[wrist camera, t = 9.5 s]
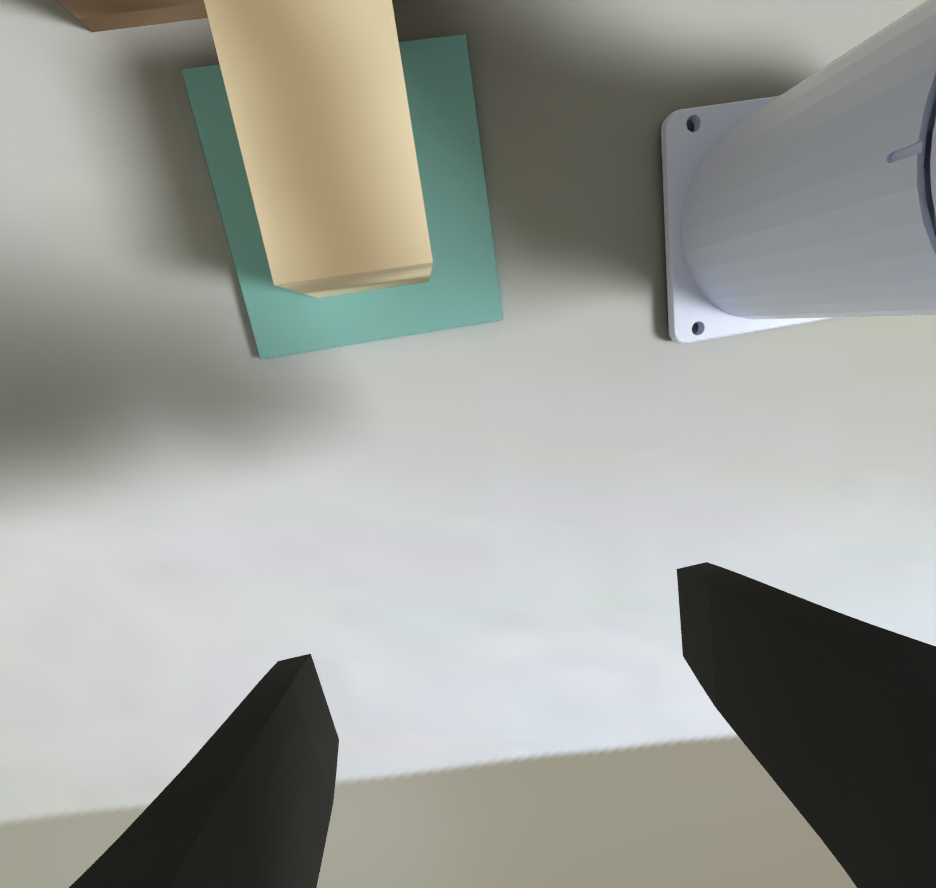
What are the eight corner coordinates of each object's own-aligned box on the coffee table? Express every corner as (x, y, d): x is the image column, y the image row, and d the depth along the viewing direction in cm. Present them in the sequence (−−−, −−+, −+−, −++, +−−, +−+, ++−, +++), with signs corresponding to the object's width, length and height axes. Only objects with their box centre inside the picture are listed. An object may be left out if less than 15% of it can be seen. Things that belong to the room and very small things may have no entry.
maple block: (397, 89, 15) (387, -28, 10) (429, 281, 16) (432, 262, 11) (274, 103, 14) (201, -8, 10) (317, 298, 16) (274, 284, 11)
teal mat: (464, 41, 15) (465, 33, 15) (501, 319, 17) (503, 319, 17) (187, 75, 14) (181, 69, 14) (264, 358, 17) (260, 359, 16)
